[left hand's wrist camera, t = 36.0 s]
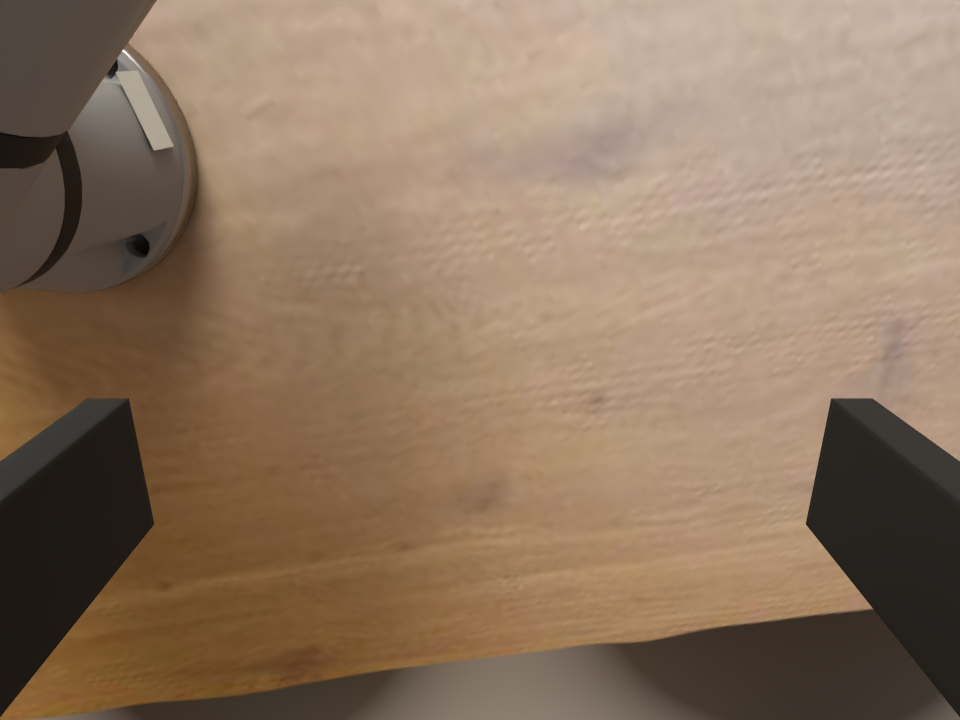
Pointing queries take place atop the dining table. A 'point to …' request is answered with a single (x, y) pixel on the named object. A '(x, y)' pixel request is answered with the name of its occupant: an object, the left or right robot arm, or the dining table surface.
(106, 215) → the left robot arm
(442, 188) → the dining table surface
